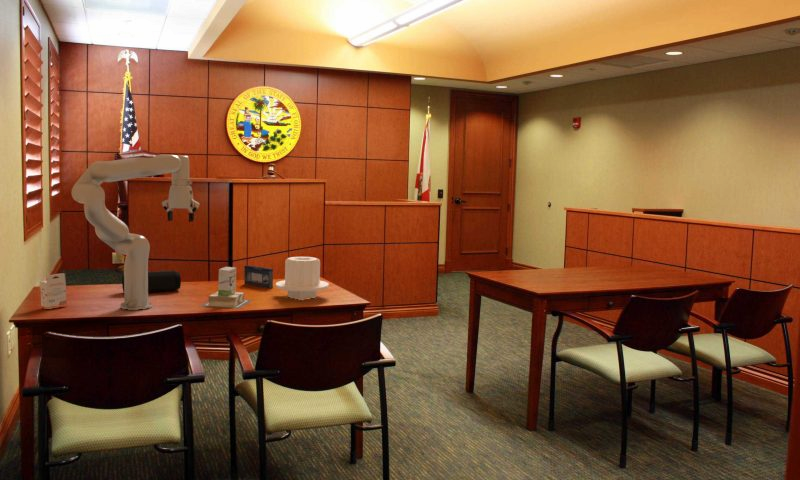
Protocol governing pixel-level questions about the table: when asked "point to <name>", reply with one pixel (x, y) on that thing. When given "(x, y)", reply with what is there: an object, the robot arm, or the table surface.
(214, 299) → the base block
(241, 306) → the blueprint mat
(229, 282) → the ink box
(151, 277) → the portable speaker
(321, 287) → the ribbed cylinder on disc
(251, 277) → the vhs cassette tape
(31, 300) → the table surface
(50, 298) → the ink cartridge box
